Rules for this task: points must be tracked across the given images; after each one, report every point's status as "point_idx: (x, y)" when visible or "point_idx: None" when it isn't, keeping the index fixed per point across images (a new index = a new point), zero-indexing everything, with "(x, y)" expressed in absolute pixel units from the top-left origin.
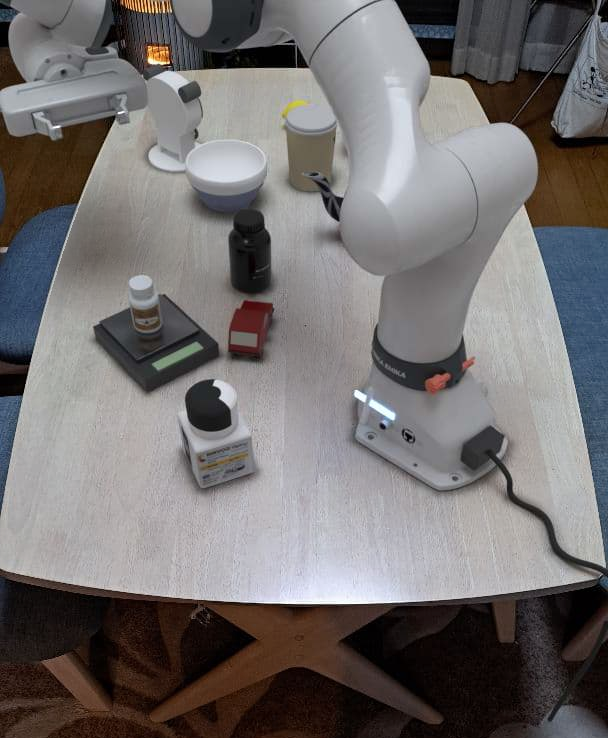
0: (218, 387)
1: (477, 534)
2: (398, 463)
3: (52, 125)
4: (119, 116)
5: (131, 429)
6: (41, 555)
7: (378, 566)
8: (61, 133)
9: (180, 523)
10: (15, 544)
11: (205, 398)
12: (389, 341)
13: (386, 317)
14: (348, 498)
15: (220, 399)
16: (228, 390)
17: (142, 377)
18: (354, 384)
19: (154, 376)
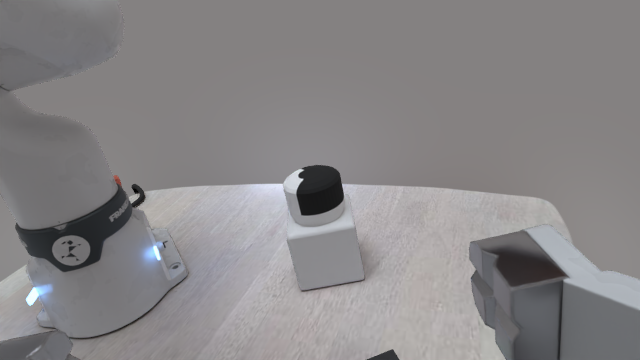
0: (298, 177)
1: (174, 209)
2: (175, 246)
3: (532, 239)
4: (63, 335)
5: (426, 313)
6: (519, 205)
7: (251, 196)
8: (477, 277)
9: (385, 222)
10: (551, 213)
11: (317, 169)
12: (111, 176)
13: (99, 156)
14: (236, 232)
15: (303, 169)
16: (290, 177)
17: (395, 354)
18: (127, 338)
19: (376, 356)
